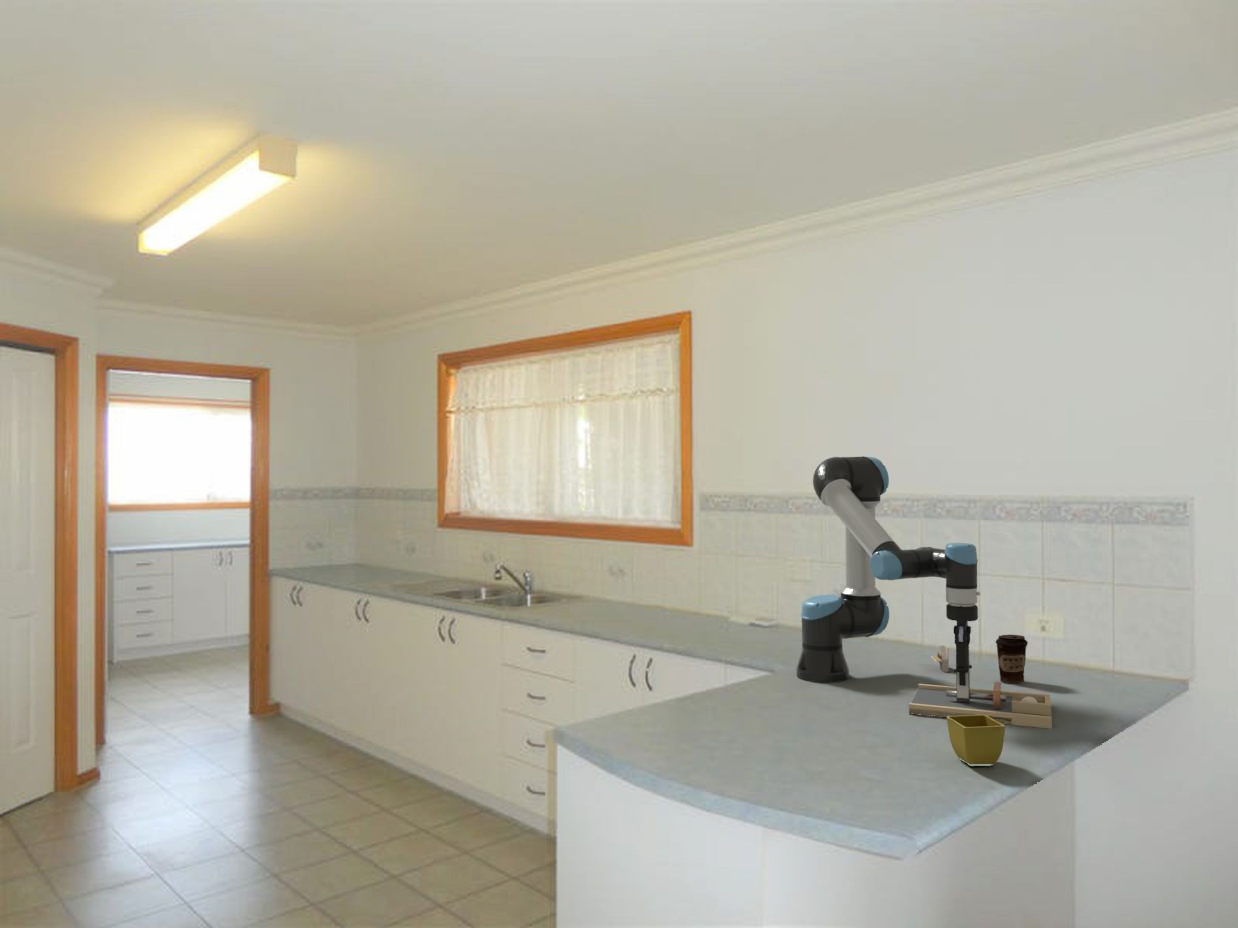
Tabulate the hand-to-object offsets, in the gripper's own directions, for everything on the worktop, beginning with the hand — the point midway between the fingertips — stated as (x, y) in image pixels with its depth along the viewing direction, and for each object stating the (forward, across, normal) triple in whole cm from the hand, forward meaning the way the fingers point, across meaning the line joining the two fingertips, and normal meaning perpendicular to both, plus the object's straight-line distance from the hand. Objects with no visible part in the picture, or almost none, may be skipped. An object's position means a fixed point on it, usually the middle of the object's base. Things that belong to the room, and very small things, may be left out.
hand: (963, 695), depth 224 cm
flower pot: (+3, -43, -5) cm, 43 cm away
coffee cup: (+3, +33, -11) cm, 35 cm away
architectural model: (+4, +42, +8) cm, 43 cm away
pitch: (+3, 0, -4) cm, 5 cm away
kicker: (+1, 0, -3) cm, 3 cm away
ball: (+1, 0, -15) cm, 15 cm away
